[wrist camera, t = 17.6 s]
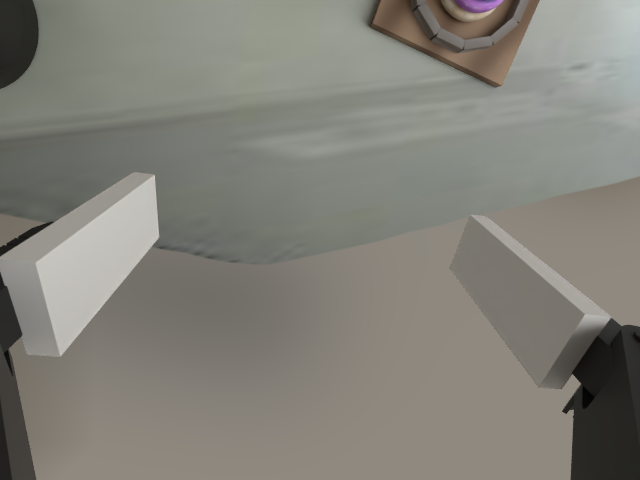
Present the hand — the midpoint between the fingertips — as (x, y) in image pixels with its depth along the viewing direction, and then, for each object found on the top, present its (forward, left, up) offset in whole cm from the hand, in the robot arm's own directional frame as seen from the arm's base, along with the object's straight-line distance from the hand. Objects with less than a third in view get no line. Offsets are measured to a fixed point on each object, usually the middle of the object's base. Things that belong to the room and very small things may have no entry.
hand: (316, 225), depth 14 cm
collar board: (+12, +28, -30) cm, 43 cm away
